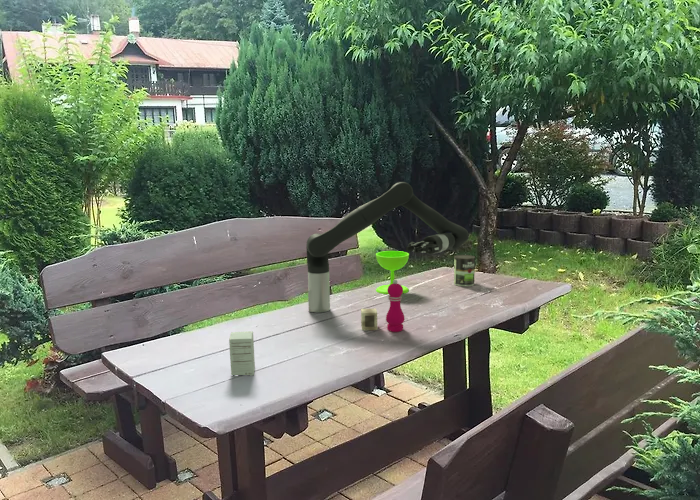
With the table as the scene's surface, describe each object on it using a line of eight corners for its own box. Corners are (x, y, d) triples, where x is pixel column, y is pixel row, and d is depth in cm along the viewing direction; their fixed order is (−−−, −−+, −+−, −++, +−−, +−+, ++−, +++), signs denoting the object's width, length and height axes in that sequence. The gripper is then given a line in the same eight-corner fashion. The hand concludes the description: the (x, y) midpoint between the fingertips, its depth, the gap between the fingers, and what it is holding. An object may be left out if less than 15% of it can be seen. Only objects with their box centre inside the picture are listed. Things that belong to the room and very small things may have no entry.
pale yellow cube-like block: (362, 330, 240) (361, 313, 239) (361, 325, 247) (361, 308, 245) (377, 330, 240) (377, 313, 239) (376, 325, 247) (376, 308, 245)
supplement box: (232, 368, 204) (230, 331, 202) (255, 367, 205) (253, 330, 203) (230, 376, 197) (228, 339, 195) (253, 375, 198) (252, 338, 195)
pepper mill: (403, 332, 237) (403, 282, 233) (384, 331, 238) (384, 281, 234) (405, 327, 244) (405, 277, 240) (387, 326, 245) (387, 277, 241)
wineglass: (415, 291, 297) (416, 254, 294) (389, 296, 288) (389, 258, 285) (395, 284, 310) (395, 249, 307) (369, 289, 301) (369, 253, 298)
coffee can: (478, 285, 306) (479, 257, 304) (460, 287, 303) (461, 259, 300) (467, 280, 316) (468, 253, 313) (449, 282, 312) (450, 255, 309)
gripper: (421, 233, 259) (396, 238, 246) (450, 236, 250) (425, 242, 237) (421, 250, 260) (396, 257, 248) (450, 254, 251) (425, 261, 239)
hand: (411, 250), depth 243 cm, fingers open, 3 cm apart
